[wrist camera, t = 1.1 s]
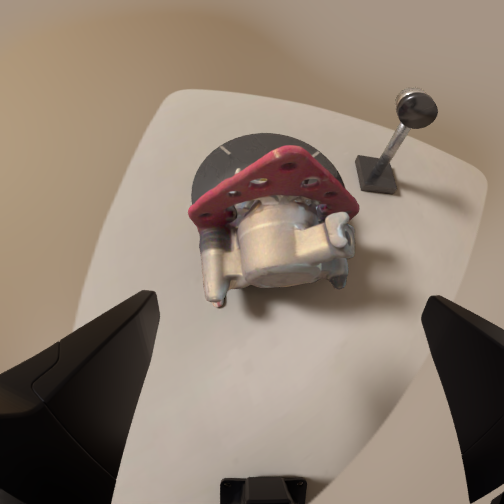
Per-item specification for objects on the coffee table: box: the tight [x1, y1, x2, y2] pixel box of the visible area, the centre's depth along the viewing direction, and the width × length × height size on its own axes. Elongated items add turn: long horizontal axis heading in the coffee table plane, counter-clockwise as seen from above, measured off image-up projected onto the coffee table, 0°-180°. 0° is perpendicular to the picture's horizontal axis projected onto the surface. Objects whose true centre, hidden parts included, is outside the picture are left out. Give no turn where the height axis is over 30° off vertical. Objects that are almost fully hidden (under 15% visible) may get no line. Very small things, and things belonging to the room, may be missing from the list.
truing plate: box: [191, 133, 344, 205], centre depth 25 cm, size 14×14×1 cm
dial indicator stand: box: [355, 87, 438, 194], centre depth 20 cm, size 4×4×12 cm
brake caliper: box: [188, 145, 359, 307], centre depth 19 cm, size 11×11×12 cm
